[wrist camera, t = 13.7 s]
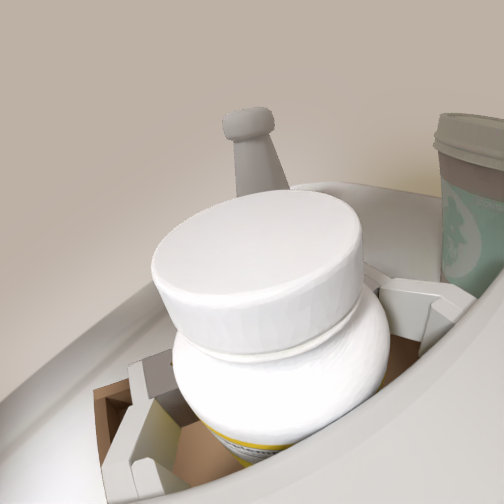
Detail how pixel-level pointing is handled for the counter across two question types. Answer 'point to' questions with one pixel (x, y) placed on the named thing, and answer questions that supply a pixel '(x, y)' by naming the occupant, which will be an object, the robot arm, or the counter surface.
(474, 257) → the coffee cup
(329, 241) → the supplement bottle
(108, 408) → the tray
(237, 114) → the salt shaker
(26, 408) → the counter surface
